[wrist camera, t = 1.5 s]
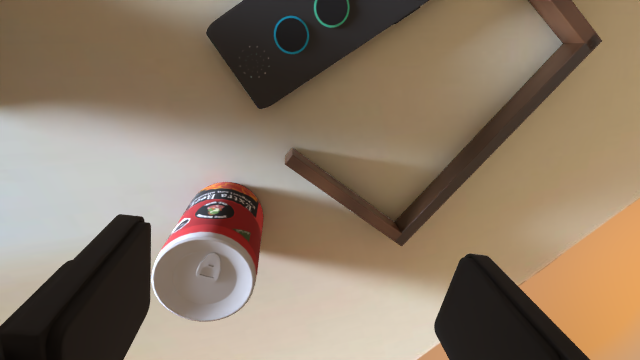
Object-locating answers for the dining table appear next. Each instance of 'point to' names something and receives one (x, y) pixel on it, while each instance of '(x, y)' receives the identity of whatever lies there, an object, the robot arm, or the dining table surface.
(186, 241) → the canned food
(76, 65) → the dining table surface
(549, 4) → the dock
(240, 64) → the smart home device
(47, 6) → the dining table surface
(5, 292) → the dining table surface
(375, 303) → the dining table surface
